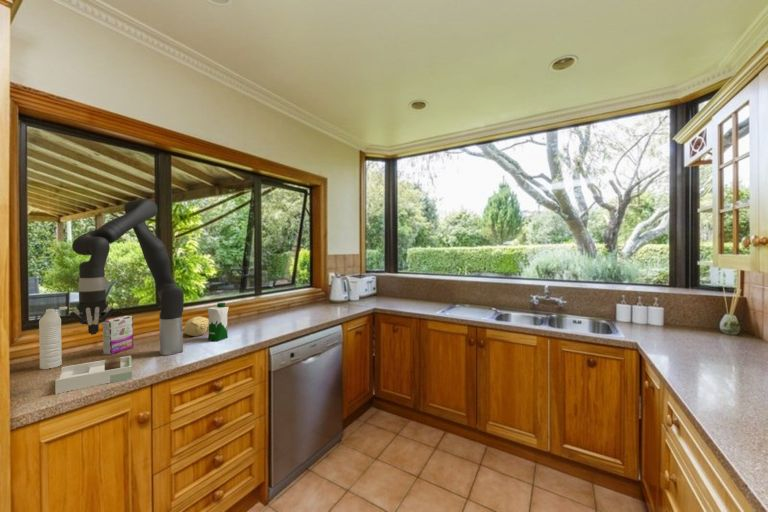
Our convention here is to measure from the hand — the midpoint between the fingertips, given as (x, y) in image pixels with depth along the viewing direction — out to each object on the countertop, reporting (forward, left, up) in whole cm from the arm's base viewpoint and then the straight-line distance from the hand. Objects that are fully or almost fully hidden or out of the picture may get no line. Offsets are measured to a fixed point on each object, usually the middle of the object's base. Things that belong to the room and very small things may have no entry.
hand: (93, 334), depth 119 cm
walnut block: (-5, 0, -16) cm, 17 cm away
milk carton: (-50, -32, -19) cm, 62 cm away
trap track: (-1, -3, -19) cm, 19 cm away
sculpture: (-42, -48, -19) cm, 67 cm away
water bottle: (+14, -31, -19) cm, 39 cm away
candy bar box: (-7, -39, -19) cm, 44 cm away
